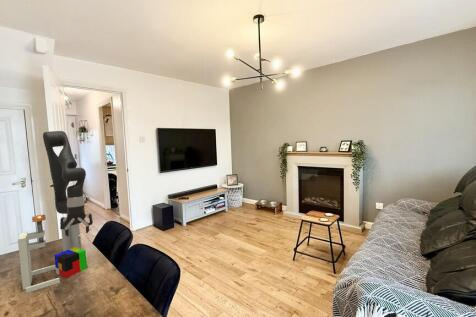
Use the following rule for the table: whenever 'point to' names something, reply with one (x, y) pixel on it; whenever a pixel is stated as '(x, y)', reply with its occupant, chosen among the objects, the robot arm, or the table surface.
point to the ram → (39, 226)
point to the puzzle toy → (70, 262)
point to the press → (26, 261)
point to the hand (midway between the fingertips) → (77, 234)
